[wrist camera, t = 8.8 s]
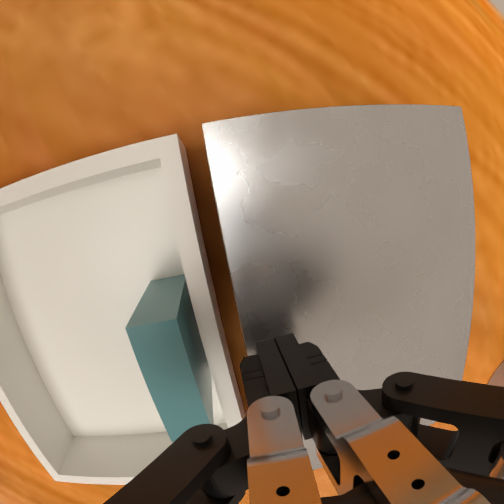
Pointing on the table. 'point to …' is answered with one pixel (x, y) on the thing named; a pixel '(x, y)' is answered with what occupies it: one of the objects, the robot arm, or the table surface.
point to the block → (172, 355)
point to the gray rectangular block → (350, 235)
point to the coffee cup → (498, 376)
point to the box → (99, 307)
